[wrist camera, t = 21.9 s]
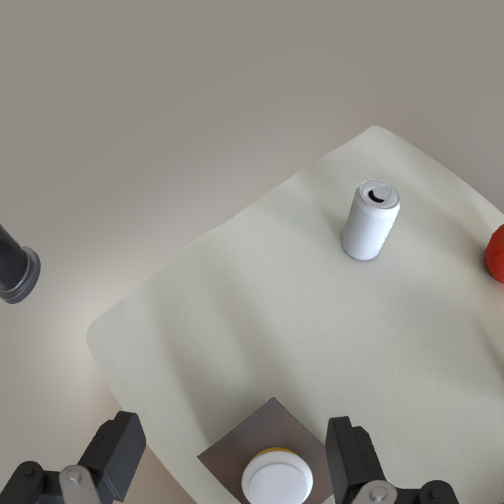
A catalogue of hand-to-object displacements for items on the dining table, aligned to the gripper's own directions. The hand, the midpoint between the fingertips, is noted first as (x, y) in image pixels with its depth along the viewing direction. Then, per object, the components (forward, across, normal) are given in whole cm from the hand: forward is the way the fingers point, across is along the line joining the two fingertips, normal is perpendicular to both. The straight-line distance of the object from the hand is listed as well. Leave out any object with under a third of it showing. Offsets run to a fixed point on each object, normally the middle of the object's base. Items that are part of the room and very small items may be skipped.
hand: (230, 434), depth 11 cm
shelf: (+15, -2, +22) cm, 27 cm away
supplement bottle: (+10, -2, +16) cm, 19 cm away
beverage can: (+37, -17, 0) cm, 41 cm away
